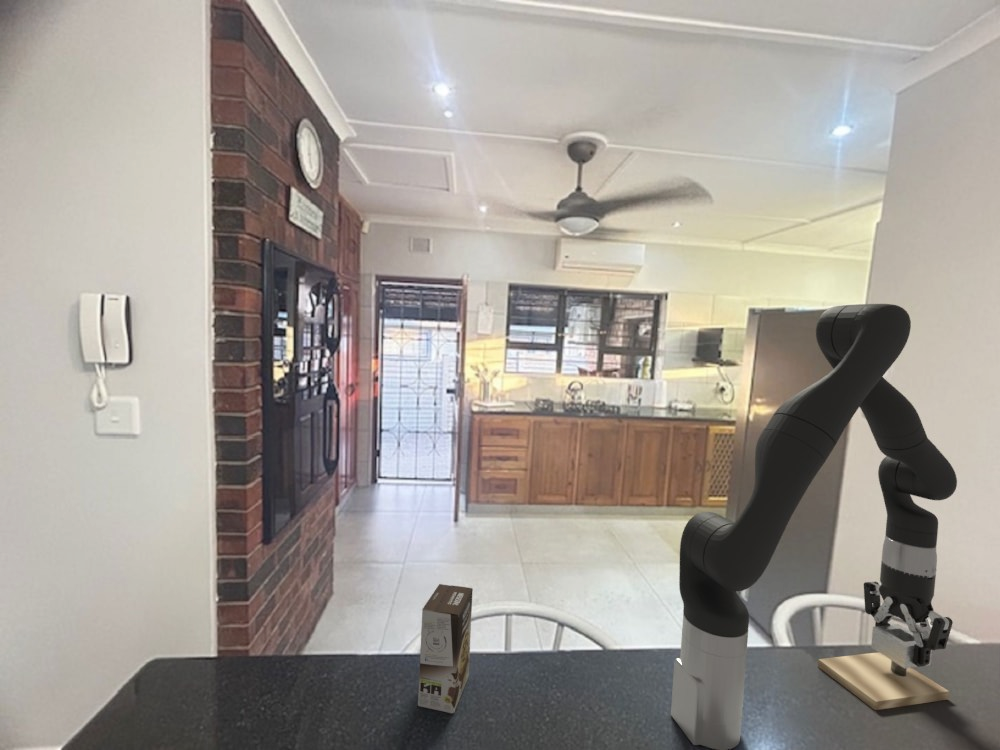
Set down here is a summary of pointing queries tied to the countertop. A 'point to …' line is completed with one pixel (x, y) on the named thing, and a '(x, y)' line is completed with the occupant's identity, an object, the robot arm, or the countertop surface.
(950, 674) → the countertop surface
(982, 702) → the countertop surface
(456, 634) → the coffee box
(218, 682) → the countertop surface
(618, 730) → the countertop surface
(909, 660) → the steel link
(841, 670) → the plate
